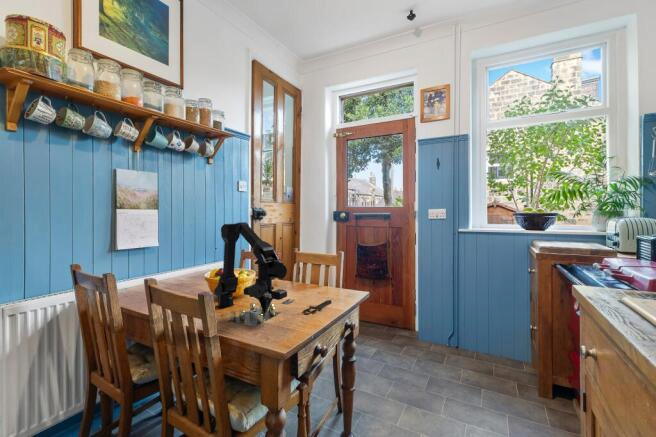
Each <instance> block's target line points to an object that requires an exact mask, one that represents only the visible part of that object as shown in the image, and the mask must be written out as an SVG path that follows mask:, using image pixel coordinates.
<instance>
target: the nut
mask: <svg viewBox="0 0 656 437" xmlns="http://www.w3.org/2000/svg"><path fill="white" fill-rule="evenodd" d="M259 309H260V308H258V309H256V308H255V310H251V311H250V310H249V311H250V318H253V319H256V318H257V314H258V313H261V310H259Z"/></svg>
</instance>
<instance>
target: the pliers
mask: <svg viewBox="0 0 656 437" xmlns="http://www.w3.org/2000/svg"><path fill="white" fill-rule="evenodd" d="M295 300H296V299H291V298H287V299H286V300H284V301H282V302H281V303H280V304H282V305H289V304H292V303H294V302H295Z"/></svg>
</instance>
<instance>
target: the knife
mask: <svg viewBox="0 0 656 437" xmlns="http://www.w3.org/2000/svg"><path fill="white" fill-rule="evenodd" d="M330 304H332V300H331V299H328V300H327V299H326V300H324V301H323V302H321V303H319V304H318V305H316V306H309V308H306V309H304V310H303V311H302V312H301V314H303V315H306V316H309V315H310V314H312V315H313V316H314V315H315V314H316V313H317V311H318V312H322V310H323V308H324V307H327V306H328V305H330Z"/></svg>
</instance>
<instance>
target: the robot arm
mask: <svg viewBox="0 0 656 437" xmlns="http://www.w3.org/2000/svg"><path fill="white" fill-rule="evenodd" d="M220 228H221V229H220V232H221V234H220V235H221V238H222V240H223V242H224V248H223V264H222V265H223V266H222V267H223V268H222V273H221V275H220V276H219V278H218V283H217V285H216V287H215V288H214V290H213V292H214V296H217V305H216V306H215V308H217V309H218V308H220V309H228V308H231V307H233V306H235V305H236V304H235V303H234V295H233V294H235V293H237V288H238V285H239V282H238V281H239V277H238V276H236V274H235V261H236V247H237V246H236V243H237V242H238V240H239V239H240V236H242V238H243V239H245V241H246V242H247V243H248V244H249V245H250V247H251V248H252V253H253V256H254V257H255V258H256V261H254V264H255V265H257V278H255V283H254V284H252V285H249V286H245V287H244V289H243V296H244V295H246V296H249V298H255V299H256V300H257V301H258V302H259V303H260V305H261V307H262V310H263V312H264V313H266V312H267V310H269V306H270V304H272V301H273V300H276V301H278V300H283V299H285V298H287V297H288V291H287V290H286V289H282V288H281V289H280V288H277V289H276V290H274V289H275V287H274V286H273V281H274V279H279V280H283V279H284V278H285V277H286V276H287V273H288V269H287V266H286V265H284V261H283V260H282V261H280V258H279V256H278V255H277V253H276V250H275V248H274V246H272V245H271V244H270V243H269V242H267V241H264V240H262V239H261V238H260V236H259V235H258V234H257V233H256V232H255V231H254V230H253V229H252V228H251V227H250V226H249V223H248V222H245V221H244V222H243V221H241V222H236V223H224V224H223V225H222V226H221V227H220Z"/></svg>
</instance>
